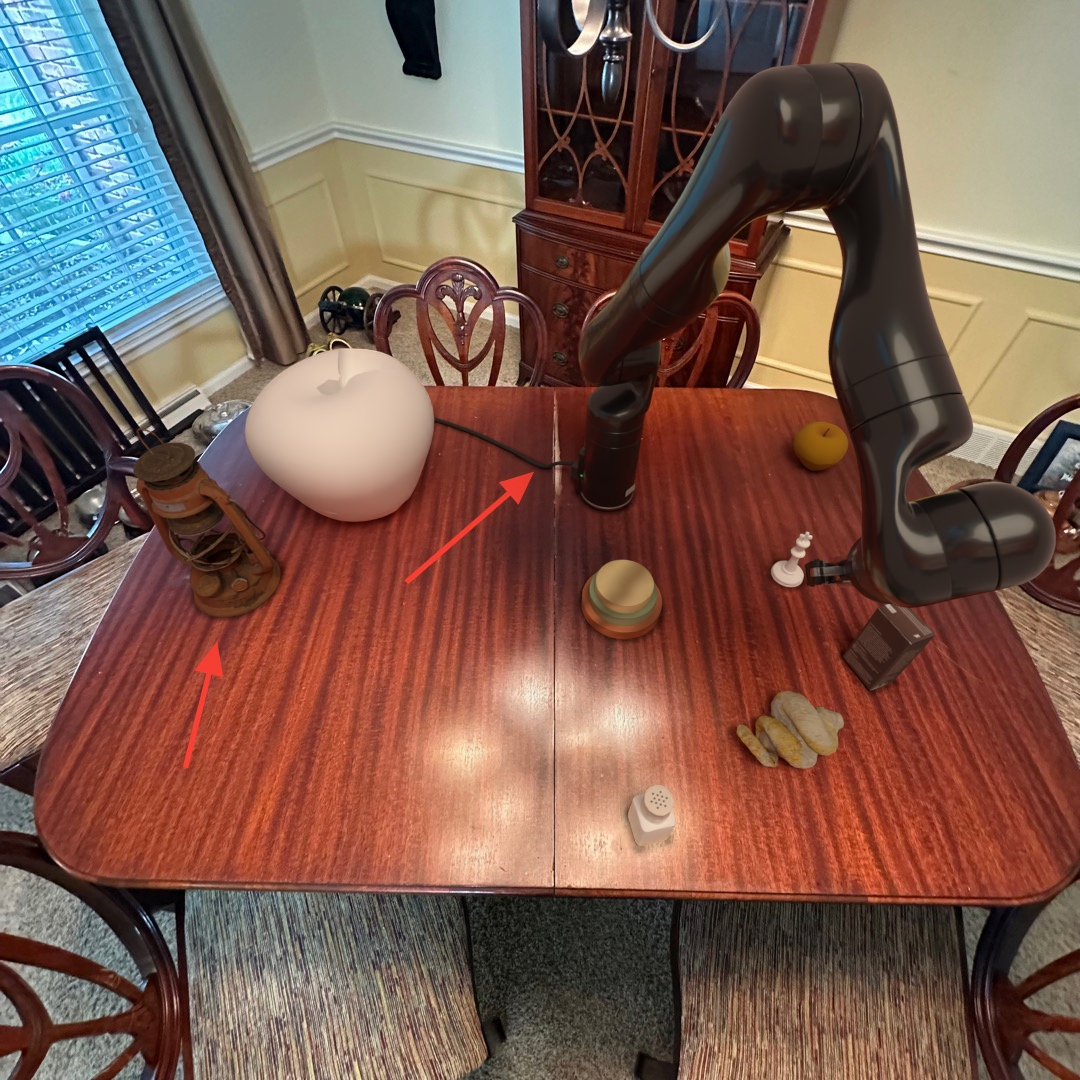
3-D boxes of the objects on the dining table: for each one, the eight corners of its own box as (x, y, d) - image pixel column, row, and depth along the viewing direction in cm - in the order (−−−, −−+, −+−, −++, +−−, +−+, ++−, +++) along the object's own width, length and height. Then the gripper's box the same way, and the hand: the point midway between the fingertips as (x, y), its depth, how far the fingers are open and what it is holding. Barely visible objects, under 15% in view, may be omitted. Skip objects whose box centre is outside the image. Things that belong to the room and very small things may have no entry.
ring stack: (566, 614, 91) (567, 590, 86) (606, 563, 97) (609, 538, 93) (637, 653, 86) (642, 630, 82) (673, 597, 93) (680, 573, 88)
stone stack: (879, 748, 71) (756, 753, 70) (859, 774, 75) (743, 779, 74) (841, 679, 78) (730, 682, 77) (825, 706, 82) (719, 709, 81)
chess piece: (804, 589, 94) (827, 548, 86) (771, 584, 94) (791, 542, 87) (801, 565, 97) (823, 523, 89) (770, 560, 97) (789, 518, 90)
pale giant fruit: (373, 582, 95) (332, 464, 76) (251, 519, 103) (188, 400, 85) (472, 477, 111) (459, 358, 92) (359, 430, 119) (326, 314, 101)
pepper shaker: (657, 805, 72) (670, 777, 65) (669, 840, 70) (683, 815, 63) (625, 813, 72) (635, 785, 65) (636, 848, 69) (647, 823, 62)
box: (895, 681, 83) (938, 634, 74) (868, 691, 82) (909, 645, 73) (865, 646, 87) (903, 597, 78) (839, 655, 86) (875, 607, 77)
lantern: (164, 609, 91) (41, 459, 69) (209, 545, 100) (113, 393, 77) (269, 625, 89) (177, 476, 67) (305, 558, 98) (235, 406, 75)
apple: (776, 464, 113) (791, 426, 106) (802, 443, 117) (818, 405, 110) (819, 488, 108) (838, 450, 102) (845, 466, 112) (864, 428, 106)
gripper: (983, 514, 54) (933, 535, 69) (809, 530, 58) (799, 546, 73) (996, 598, 53) (943, 601, 68) (818, 608, 57) (806, 608, 72)
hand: (868, 572), depth 70 cm, fingers open, 8 cm apart
